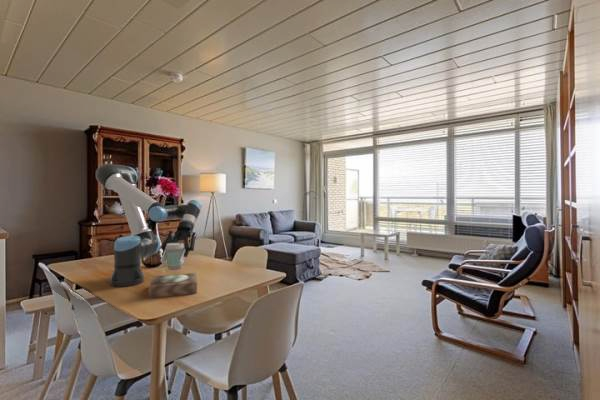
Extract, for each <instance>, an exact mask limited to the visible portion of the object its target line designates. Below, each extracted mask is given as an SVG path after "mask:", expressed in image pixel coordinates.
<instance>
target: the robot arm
mask: <svg viewBox="0 0 600 400" xmlns="http://www.w3.org/2000/svg"><path fill="white" fill-rule="evenodd" d="M95 179H96V181H97V182H98V183H99V184H100V185H101V186H103V187H104V188H105V189H107V190H112V191H113V192H115V193H117V194H118V195H117V196H118V197H119V200H120V204H121V206H122V210H123V212H124V214H125V219H126V221H127V223H128V227H129V230H130V233H131V234H130V235H127V236H122V237H119V238H117V239H116V240H114V243H113V244H114V246H113V255H114V257H113V259H114V264H113V265H114V269H113V272H112V274H111V277H110V281H109V285H110V286H112V287H121V288H123V287H128V286H129V287H130V286H135V285H140V284H141V283H143V282H145V276H144V272H143V271H142V268H141V259H143V258H147V257H151V256H153V255H156V253H158V252H159V250H160V248H161V251H162V252H161V258H160V262H161V263H162V264H163V265H164V264H165V262H166V260H167V254H166V249H165V248H166V245H167V244H169V243H179V241H184V244H185V245H184V250H183V253H182V255H181V258H180V260H179V261H180V263H181V264H182V265H183V264H184V262H185V259H186V258H188V256H189V253H190V252H193V251H194V250H195V243H196V239H197V233H196V232H195V231H194V229H195V228H194V227H195V226H196V224H197V220H198V217H199V215H200V213H201V210H202V203H201V202H200V201H198V200H197V199H196V200H195V199H190V200H189V201H188V202H187V204H179V205H163V204H161V203H160V202H159V201H158V200H156V199H154V198H152V197H151V196H149V195H148V194H147V193H146V192H143V191H142V190H140V188H138V187H137V186H138V185H137V182H138V180H139V175H138V172H137V171H136V169H134V168H133V167H131V166H127V165H123V164H122V165H121V164H114V163H104V164H102V165H100V166H99V167H97V169H96V170H95ZM144 212H145V213H146V214H147V215H148V217H149V219H150V220H151V221H153V222H164V221H171V220H180V221H179V223H178V226H177V229H176V231H175V232H172V231H169V232H168V235H167V237H166V238H165V240H164V241H163V243H162V244H161V240H160V238H159V237H158V236H157V235H155V234H154V232H153V230H152V229H150V228H149V227H148V224H147V221H146V218H145V215H144ZM189 239H190V242H189ZM189 243H190V244H189Z"/></svg>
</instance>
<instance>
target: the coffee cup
mask: <svg viewBox="0 0 600 400" xmlns="http://www.w3.org/2000/svg"><path fill="white" fill-rule="evenodd" d="M184 244H185V243H184V242H176V243H169V244H167V245H166V248H165V249H166V254H167V258H166V260H167V261H166V263H167V269H168V270H169V271H178V270H181V269H182V266H183V264H181V263H180V261H179V260H180V258H181V255H182V253H183V250H184V249H185V245H184Z"/></svg>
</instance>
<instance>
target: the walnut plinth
mask: <svg viewBox="0 0 600 400" xmlns="http://www.w3.org/2000/svg"><path fill="white" fill-rule="evenodd" d="M197 293H198V281H197V272H190V273H180V274H179V273H177V274H164V275H154V276H152V278H151V281H150V284H149V286H148V298H149V299H152V298H153V299H154V298H162V297H173V296H182V295H191V294H197Z"/></svg>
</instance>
